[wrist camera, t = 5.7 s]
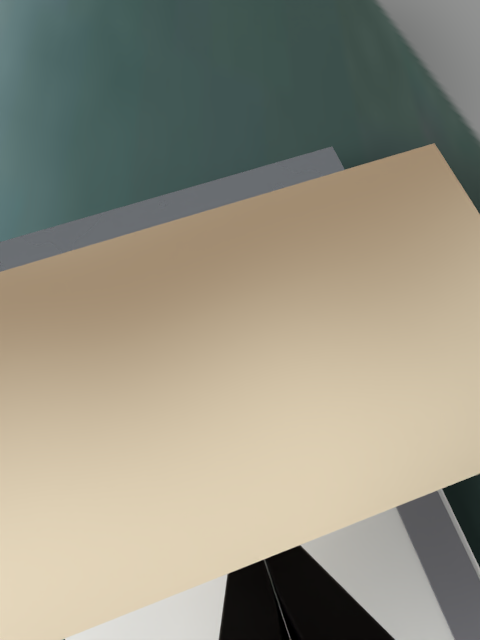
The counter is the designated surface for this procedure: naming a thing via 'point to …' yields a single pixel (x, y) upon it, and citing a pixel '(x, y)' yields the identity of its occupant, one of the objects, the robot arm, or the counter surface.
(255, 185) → the grey rectangular bar
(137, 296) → the block
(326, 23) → the counter surface
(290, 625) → the robot arm
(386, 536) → the plate
